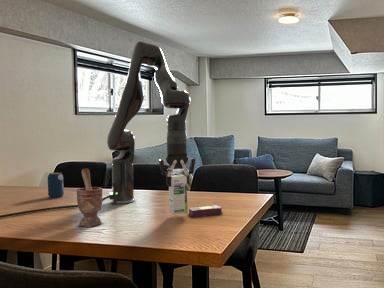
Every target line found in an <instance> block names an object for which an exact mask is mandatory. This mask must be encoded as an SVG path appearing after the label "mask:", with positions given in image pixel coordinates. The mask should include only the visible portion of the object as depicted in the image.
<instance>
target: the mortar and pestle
mask: <svg viewBox="0 0 384 288" xmlns="http://www.w3.org/2000/svg"><path fill="white" fill-rule="evenodd" d="M81 177H82V180H83V183H84V187H80V188H77V189H76V203H77V205H78V207H77V208H78V210H79V212H80V213H81V214H82V215H83V217H82V218H81V219H80V220H79V224H78V226H80V227H84V228H85V227H86V228H91V227H95V226H99V225H101V224H102V220H101V218H100V217H99V216H98V212H100V210H101V209H102V206H103V205H102V204H103V202H102V199H103V187H99V186H92V183H91V172H90V169H89V168H88V167H84V168H82V169H81Z"/></svg>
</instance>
